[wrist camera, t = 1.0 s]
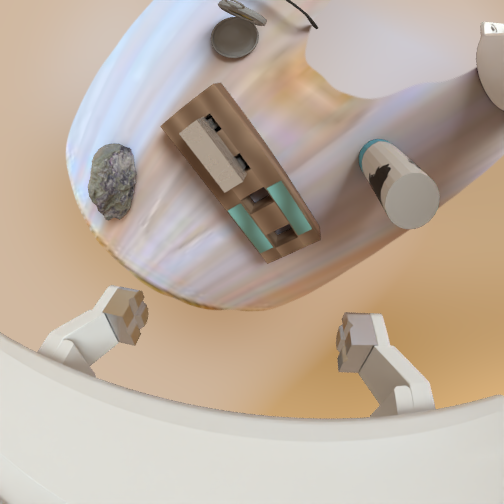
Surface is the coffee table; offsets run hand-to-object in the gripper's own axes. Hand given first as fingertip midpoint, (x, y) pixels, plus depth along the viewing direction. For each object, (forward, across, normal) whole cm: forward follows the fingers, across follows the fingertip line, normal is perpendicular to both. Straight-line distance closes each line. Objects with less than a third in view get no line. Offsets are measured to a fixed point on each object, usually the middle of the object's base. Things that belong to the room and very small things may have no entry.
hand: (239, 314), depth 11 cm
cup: (+34, -16, +1) cm, 37 cm away
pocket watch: (+34, +6, -16) cm, 38 cm away
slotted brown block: (+34, +4, +6) cm, 35 cm away
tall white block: (+34, +8, +1) cm, 35 cm away
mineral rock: (+35, +28, +7) cm, 46 cm away
